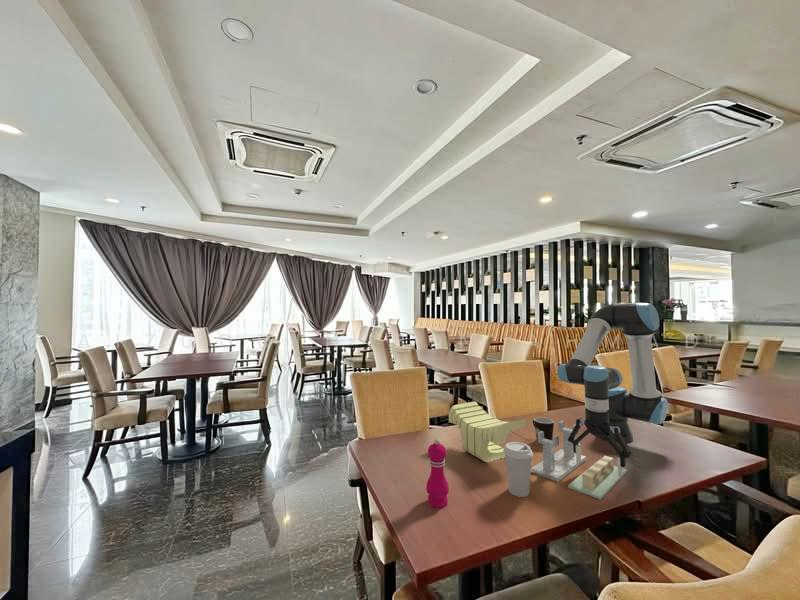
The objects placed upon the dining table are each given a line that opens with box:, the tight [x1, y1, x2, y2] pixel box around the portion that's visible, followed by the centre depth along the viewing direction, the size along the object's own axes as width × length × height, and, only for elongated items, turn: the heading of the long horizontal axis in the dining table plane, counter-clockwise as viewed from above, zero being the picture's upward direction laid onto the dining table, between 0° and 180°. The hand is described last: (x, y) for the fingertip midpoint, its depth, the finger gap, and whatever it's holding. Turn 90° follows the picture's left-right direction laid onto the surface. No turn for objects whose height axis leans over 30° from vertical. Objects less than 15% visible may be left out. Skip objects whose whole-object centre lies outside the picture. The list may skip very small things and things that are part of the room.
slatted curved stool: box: [448, 401, 527, 463], centre depth 142 cm, size 30×16×18 cm, turn 28°
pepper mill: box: [426, 438, 450, 509], centre depth 107 cm, size 7×7×20 cm
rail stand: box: [530, 420, 587, 483], centre depth 131 cm, size 26×10×14 cm, turn 131°
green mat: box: [567, 460, 628, 501], centre depth 120 cm, size 28×10×1 cm, turn 131°
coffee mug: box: [532, 417, 555, 445], centre depth 156 cm, size 12×9×10 cm
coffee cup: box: [503, 441, 534, 498], centre depth 112 cm, size 10×10×15 cm
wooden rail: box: [581, 455, 615, 489], centre depth 120 cm, size 22×3×4 cm, turn 131°
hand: (598, 468), depth 120 cm, fingers open, 13 cm apart
